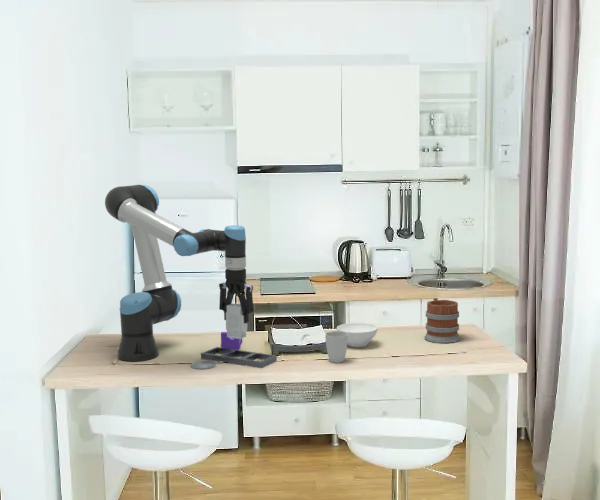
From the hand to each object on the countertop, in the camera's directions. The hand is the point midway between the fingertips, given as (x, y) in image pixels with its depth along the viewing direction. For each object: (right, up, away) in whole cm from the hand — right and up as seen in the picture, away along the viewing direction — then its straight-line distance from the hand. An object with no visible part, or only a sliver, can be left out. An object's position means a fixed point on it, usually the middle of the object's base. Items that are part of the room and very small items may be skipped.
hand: (236, 330), depth 280 cm
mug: (+80, -6, +27) cm, 85 cm away
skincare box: (0, -3, 0) cm, 3 cm away
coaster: (-12, -12, -5) cm, 18 cm away
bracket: (-4, -9, +22) cm, 24 cm away
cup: (+37, -11, -2) cm, 38 cm away
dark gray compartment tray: (+1, -11, +1) cm, 11 cm away
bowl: (+46, -8, +19) cm, 50 cm away
